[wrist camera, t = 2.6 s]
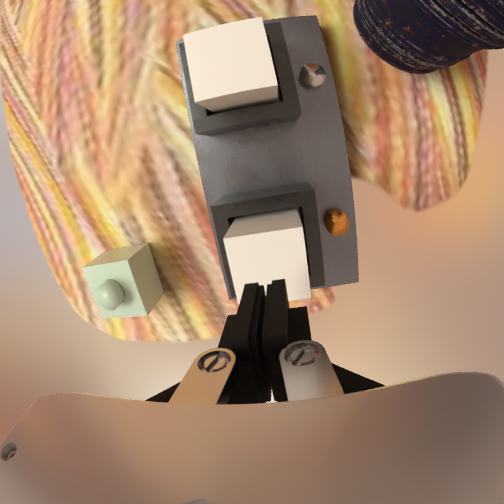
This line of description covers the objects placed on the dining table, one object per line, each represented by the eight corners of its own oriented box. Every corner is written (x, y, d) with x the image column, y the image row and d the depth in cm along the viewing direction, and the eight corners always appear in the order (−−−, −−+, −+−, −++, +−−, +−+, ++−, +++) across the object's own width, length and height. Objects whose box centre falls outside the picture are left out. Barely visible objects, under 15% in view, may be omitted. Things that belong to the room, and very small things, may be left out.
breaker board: (183, 48, 19) (156, 23, 13) (313, 24, 17) (323, -9, 12) (232, 288, 26) (221, 326, 20) (353, 272, 24) (371, 306, 19)
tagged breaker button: (236, 215, 19) (223, 238, 14) (295, 206, 18) (302, 226, 14) (247, 270, 20) (239, 307, 16) (303, 262, 20) (311, 297, 15)
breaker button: (205, 60, 15) (182, 35, 11) (265, 48, 15) (261, 16, 10) (216, 113, 17) (194, 102, 12) (277, 102, 16) (277, 85, 12)
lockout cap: (106, 250, 26) (74, 273, 21) (149, 242, 25) (120, 265, 20) (122, 296, 28) (96, 324, 22) (164, 291, 27) (142, 323, 22)
